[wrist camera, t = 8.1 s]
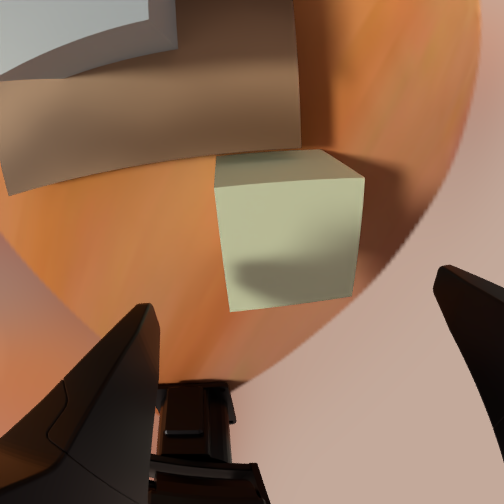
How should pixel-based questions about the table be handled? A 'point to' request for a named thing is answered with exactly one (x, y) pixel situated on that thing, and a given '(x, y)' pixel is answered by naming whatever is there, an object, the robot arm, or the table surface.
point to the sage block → (287, 227)
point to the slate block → (80, 35)
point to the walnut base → (161, 99)
